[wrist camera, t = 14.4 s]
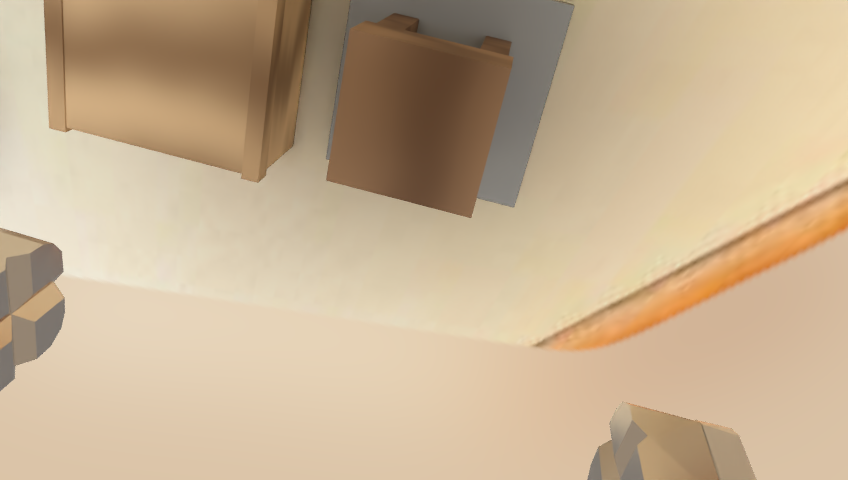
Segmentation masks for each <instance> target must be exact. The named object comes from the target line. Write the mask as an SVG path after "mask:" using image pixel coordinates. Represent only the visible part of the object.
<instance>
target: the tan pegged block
mask: <svg viewBox="0 0 848 480" xmlns="http://www.w3.org/2000/svg"><path fill="white" fill-rule="evenodd" d="M418 23H419V19H417V18H413V17H409V16H405V15H401V14H397V13H393V14H391V15H390V16H388V17H386V18H384V19H383V20H381V21H379V22H377V23H374V22H370V21H364V22H362V23H360V24H358V25H356V26H354V27H352V28H351V29H350V32H349V38H348V45H347V51H346V57H345V64H344V70H343V76H342V83H341V89H340V96H339V102H338V108H337V115H336V121H335V127H334V134H333V140H332V146H331V153H330V159H329V166H328V172H327V178H326V180H327V181H331V182H335V183H339V184H342V185H346V186H350V187H354V188H358V189H362V190H365V191H369V192H373V193H377V194H381V195H385V196H388V197H392V198H396V199H400V200H404V201H408V202H411V203H415V204H419V205H423V206H427V207H431V208H434V209H438V210H442V211H446V212H450V213H454V214H457V215H461V216H465V217H469V218H471V217H472V213H473V209H474V206H475V202H476V198H477V195H478V191H479V187H480V183H481V180H482V176H483V172H484V169H485V165H486V161H487V158H488V154H489V150H490V146H491V143H492V139H493V135H494V132H495V128H496V124H497V120H498V117H499V113H500V109H501V106H502V102H503V98H504V95H505V91H506V87H507V83H508V80H509V76H510V72H511V68H512V63H513V58H514V57H511V56H509V52H510V47H511V43H512V42H510V41H506V40H502V39H498V38H494V37H490V36H486V38H485V40H484V42H483V44H482V46H481V48H480V49H479V48H475V47H471V46H467V45H463V44H459V43H455V42H451V41H447V40H443V39H439V38H435V37H431V36H427V35H423V34H419V33H417V28H418Z"/></svg>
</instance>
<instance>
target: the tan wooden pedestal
mask: <svg viewBox="0 0 848 480" xmlns="http://www.w3.org/2000/svg"><path fill="white" fill-rule="evenodd" d="M311 3H312V0H44V17H45V40H46V64H47V87H48V110H49V128H51V129H55V130H59V131H62V132H67V131H70V130H72V129H74V130H78V131H81V132H85V133H89V134H93V135H97V136H100V137H104V138H108V139H112V140H116V141H120V142H123V143H127V144H131V145H135V146H139V147H142V148H146V149H150V150H154V151H158V152H162V153H165V154H169V155H173V156H177V157H181V158H184V159H188V160H192V161H196V162H200V163H204V164H207V165H211V166H215V167H219V168H223V169H226V170H230V171H234V172H238V173H242V176H241V178H242V179H245V180H249V181H253V182H257V183H258V182H259V181H260V180H261V179H263V178H264V177H265V176H266V169H267V168H268V167H270V166H271V165H272V164H273V163H274V162H275V161H276V160H277V159H279V158H280V157H281V156H282V155H283V154H284V153H285V152H287V151H288V150H289V149H290V148H291V147H292V146H293V141H294V134H295V126H296V118H297V111H298V103H299V95H300V87H301V80H302V72H303V64H304V57H305V49H306V41H307V33H308V26H309V18H310V10H311Z"/></svg>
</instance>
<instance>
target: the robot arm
mask: <svg viewBox="0 0 848 480" xmlns="http://www.w3.org/2000/svg"><path fill="white" fill-rule="evenodd" d="M62 273H63V261H62V251H61V250H60V249H59V248H58V247H57V246H55V245H54V244H53V243H49V242H46V241H43V240H39V239H36V238H33V237H29V236H26V235H23V234H19V233H16V232H13V231H9V230H6V229H3V228H0V391H1V390H2V389H3V388H4V387H6V386H7V385H8V384H9V383H10V382H11V381H12V380H14V378H15V366H16V365H19V364H22V363H25V362H28V361H31V360H35V359H37V358H38V357H39V356H40V355H41V354H43V353H44V352H45V351H46V350H47V349H48V348H49V347H50V346H51V345H52V343H53V341H54V340H55V338H56V336H57V334H58V333H59V330H60V329H61V327H62V322H63V318H64V313H65V305H64V304H65V300H64V296H63V295H62V293H61V292H60V290H59V289H58V287H57V286H56V285H55V283H54V281H55V280H56V279H57V278H58V277H59V276H60V275H61V274H62ZM610 430H611V438H612V440H610V441H608V442H607V443H605V444H603V445H601V446H599V447H598V449H597V452H596V454H595V456H594V459H593V461H592V464H591V467H590V471H589V475H588V480H756V478H755V475H754V472H753V470H752V467H751V465H750V462H749V460H748V457H747V455H746V452H745V450H744V447H743V445H742V442H741V440H740V437H739V435H738V434H737V433H736V432H735V431H734V430H733V429H731V428H727V427H723V426H719V425H714V424H711V423H706V422H702V421H698V420H690V419H686V418H682V417H679V416H675V415H671V414H668V413H664V412H660V411H656V410H652V409H649V408H645V407H641V406H637V405H634V404H630V403H626V402H622V403H621V404H620V406H619V407H618V408H617V409H616V411H615V413H614V415H613V417H612V419H611V421H610Z"/></svg>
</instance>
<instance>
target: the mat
mask: <svg viewBox="0 0 848 480" xmlns="http://www.w3.org/2000/svg"><path fill="white" fill-rule="evenodd" d="M573 9H574V5H573V4H568V3H564V2H560V1H556V0H351V1H350V7H349V14H348V20H347V27H346V33H345V40H344V46H343V53H342V59H341V66H340V72H339V78H338V85H337V91H336V98H335V104H334V111H333V117H332V124H331V130H330V137H329V143H328V150H327V156H326V159H328V160H329V159H330V153H331V146H332V140H333V134H334V127H335V121H336V115H337V108H338V102H339V96H340V89H341V83H342V76H343V70H344V64H345V57H346V51H347V45H348V38H349V32H350V29H351V28H352V27H354V26H356V25H358V24H360V23H362V22H364V21H370V22H374V23H377V22H379V21H381V20H383V19H384V18H386V17H388V16H390V15H391V14H393V13H397V14H401V15H405V16H409V17H413V18H417V19H419V23H418V28H417V33H419V34H423V35H427V36H431V37H435V38H439V39H443V40H447V41H451V42H455V43H459V44H463V45H467V46H471V47H475V48H479V49H480V48H481V46H482V44H483V42H484V40H485V38H486V36H490V37H494V38H498V39H502V40H506V41H510V42H512V43H511V47H510V52H509V56H511V57H514V58H513V63H512V68H511V72H510V76H509V80H508V83H507V87H506V91H505V95H504V98H503V102H502V106H501V109H500V113H499V117H498V120H497V124H496V128H495V132H494V135H493V139H492V143H491V146H490V150H489V154H488V158H487V161H486V165H485V169H484V172H483V176H482V180H481V183H480V187H479V191H478V195H477V198H479V199H483V200H487V201H491V202H494V203H498V204H502V205H506V206H510V207H514V206H515V203H516V199H517V196H518V193H519V189H520V186H521V183H522V179H523V176H524V173H525V169H526V166H527V163H528V159H529V156H530V153H531V149H532V146H533V143H534V139H535V136H536V133H537V129H538V126H539V123H540V119H541V116H542V113H543V109H544V106H545V102H546V99H547V96H548V92H549V89H550V86H551V82H552V79H553V76H554V72H555V69H556V66H557V62H558V59H559V56H560V52H561V49H562V46H563V42H564V39H565V36H566V32H567V29H568V26H569V22H570V19H571V16H572V12H573Z"/></svg>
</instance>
